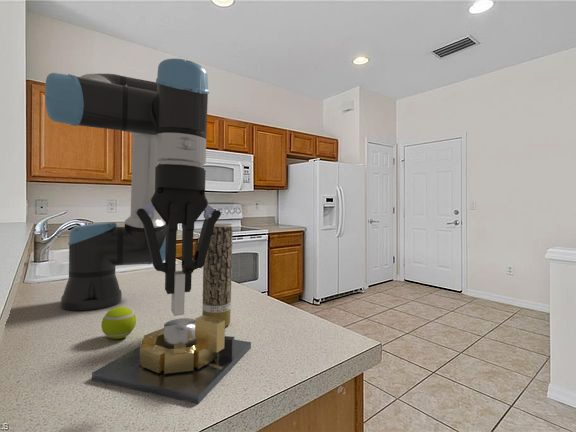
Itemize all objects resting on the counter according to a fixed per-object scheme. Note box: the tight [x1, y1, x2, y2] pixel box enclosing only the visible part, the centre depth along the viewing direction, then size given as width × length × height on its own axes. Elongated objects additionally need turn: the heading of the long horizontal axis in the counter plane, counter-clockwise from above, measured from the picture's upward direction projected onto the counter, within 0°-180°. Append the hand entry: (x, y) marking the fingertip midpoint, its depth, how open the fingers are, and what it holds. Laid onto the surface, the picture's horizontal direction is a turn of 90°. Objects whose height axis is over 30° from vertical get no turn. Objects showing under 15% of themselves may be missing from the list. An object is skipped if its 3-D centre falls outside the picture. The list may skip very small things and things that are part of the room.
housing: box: [91, 317, 252, 405], centre depth 60 cm, size 20×20×7 cm
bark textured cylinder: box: [201, 222, 234, 328], centre depth 78 cm, size 7×7×25 cm
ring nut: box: [139, 315, 226, 374], centre depth 59 cm, size 16×13×8 cm
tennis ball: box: [101, 306, 137, 340], centre depth 70 cm, size 7×7×7 cm
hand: (177, 312), depth 51 cm, fingers closed
